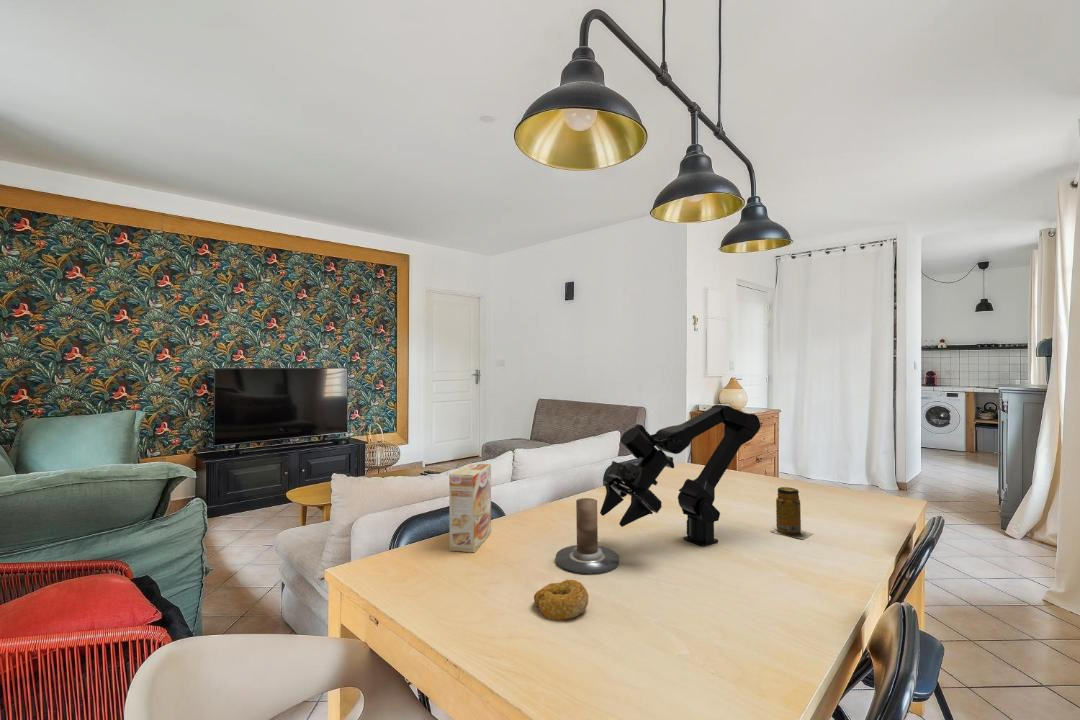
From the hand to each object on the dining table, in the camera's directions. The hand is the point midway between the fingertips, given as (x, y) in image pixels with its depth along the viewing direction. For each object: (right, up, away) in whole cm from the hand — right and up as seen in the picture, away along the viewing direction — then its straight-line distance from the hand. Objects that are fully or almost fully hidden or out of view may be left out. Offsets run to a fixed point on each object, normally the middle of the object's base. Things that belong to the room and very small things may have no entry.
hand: (610, 519), depth 119 cm
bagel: (-13, -9, -25) cm, 30 cm away
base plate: (-6, -9, -3) cm, 11 cm away
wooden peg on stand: (-6, -8, -3) cm, 10 cm away
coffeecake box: (-36, -10, +11) cm, 39 cm away
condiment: (+52, -9, +16) cm, 55 cm away
